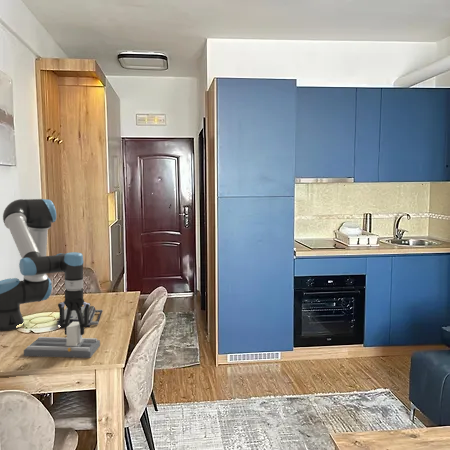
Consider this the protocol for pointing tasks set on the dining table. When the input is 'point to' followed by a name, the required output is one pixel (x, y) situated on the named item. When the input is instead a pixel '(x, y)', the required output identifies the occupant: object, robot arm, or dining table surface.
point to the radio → (91, 314)
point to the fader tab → (73, 335)
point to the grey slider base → (61, 348)
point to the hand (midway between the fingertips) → (74, 341)
